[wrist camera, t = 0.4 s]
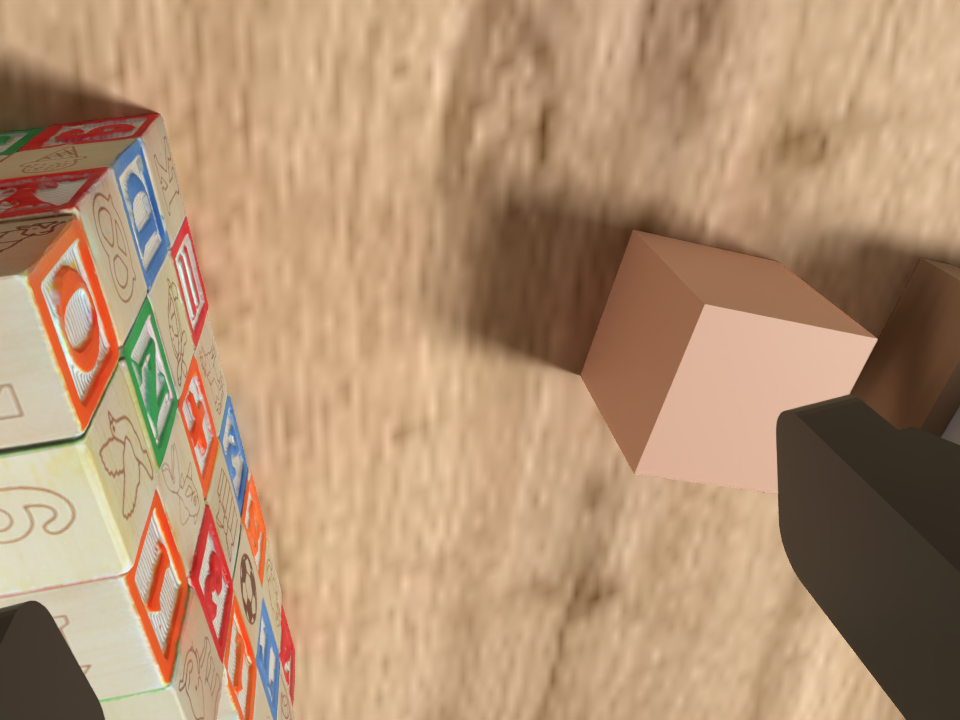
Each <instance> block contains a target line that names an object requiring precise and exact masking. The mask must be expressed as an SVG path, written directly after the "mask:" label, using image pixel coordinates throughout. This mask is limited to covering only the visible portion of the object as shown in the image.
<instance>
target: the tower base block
mask: <svg viewBox="0 0 960 720" xmlns="http://www.w3.org/2000/svg"><path fill="white" fill-rule="evenodd" d="M849 395H854V396H856V397H858V398H859V399H861V400H862V401H863V402H865V403H866V404H867V405H868V406H869V407H871V408H872V409H873V410H874V411H876V412H877V413H878V414H879V415H880V416H882V417H883V418H884V419H885V420H887V421H888V422H889V423H890V424H891V425H893V426H894V427H895V428H896V429H898V430H901V429H905V428H908V427H912V426H913V427H915V428H918V429H920V430H923V431H926V432H928V433H931V434H933V435H936V436H938V437H942V435H943V433H944V431H945V430H946V428H947V426H948V425H949V423H950V421H951V420H952V418H953V416H954V415H955V413H956V411H957V410H958V408H959V406H960V267H959V266H954V265H950V264H946V263H942V262H938V261H933V260H929V259H925V258H921V259H920V260H919V262H918V264H917V266H916V268H915V270H914V272H913V274H912V276H911V278H910V280H909V281H908V283H907V285H906V287H905V289H904V291H903V293H902V295H901V297H900V299H899V301H898V303H897V304H896V306H895V308H894V310H893V312H892V314H891V316H890V318H889V320H888V322H887V324H886V325H885V327H884V329H883V331H882V333H881V335H880V337H879V339H878V341H877V343H876V345H875V346H874V348H873V350H872V352H871V354H870V356H869V358H868V360H867V362H866V364H865V366H864V368H863V369H862V371H861V373H860V375H859V377H858V379H857V381H856V383H855V385H854V387H853V389H852V390H851V392H850V394H849Z"/></svg>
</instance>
